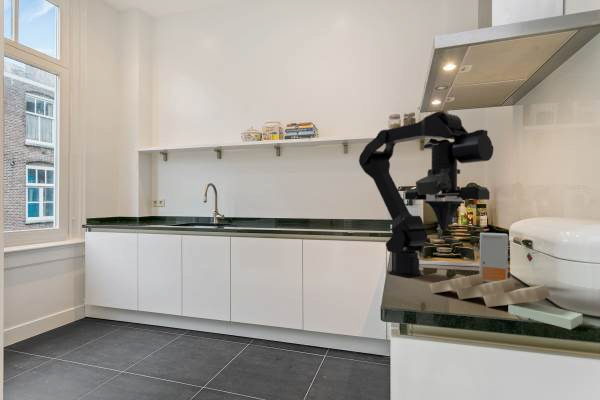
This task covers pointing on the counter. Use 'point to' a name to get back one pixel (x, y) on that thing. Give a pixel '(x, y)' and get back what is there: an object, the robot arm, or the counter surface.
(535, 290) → the maple tile
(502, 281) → the maple tile
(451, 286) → the maple tile
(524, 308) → the sage tile
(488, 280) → the skincare box
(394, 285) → the counter surface
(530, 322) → the counter surface
